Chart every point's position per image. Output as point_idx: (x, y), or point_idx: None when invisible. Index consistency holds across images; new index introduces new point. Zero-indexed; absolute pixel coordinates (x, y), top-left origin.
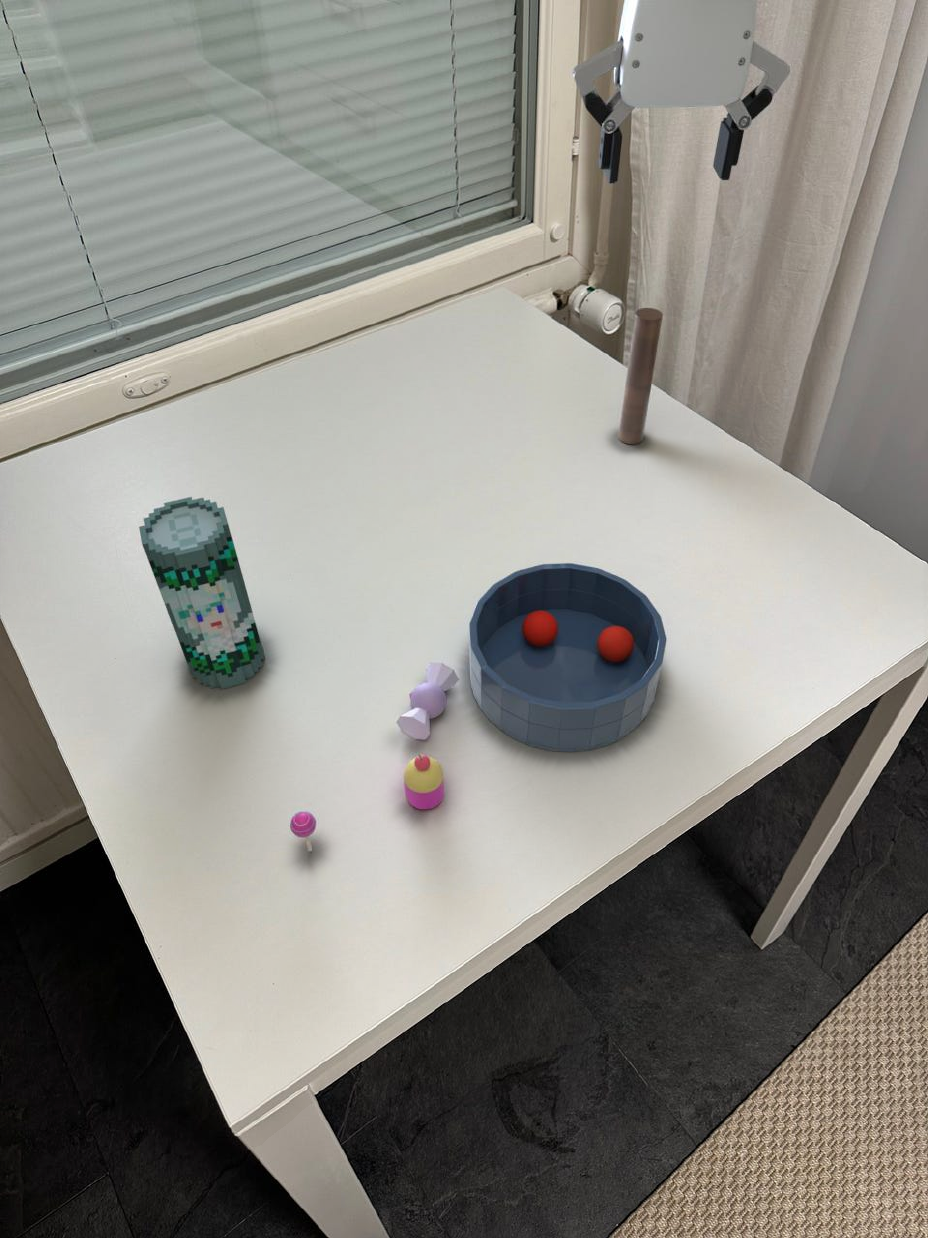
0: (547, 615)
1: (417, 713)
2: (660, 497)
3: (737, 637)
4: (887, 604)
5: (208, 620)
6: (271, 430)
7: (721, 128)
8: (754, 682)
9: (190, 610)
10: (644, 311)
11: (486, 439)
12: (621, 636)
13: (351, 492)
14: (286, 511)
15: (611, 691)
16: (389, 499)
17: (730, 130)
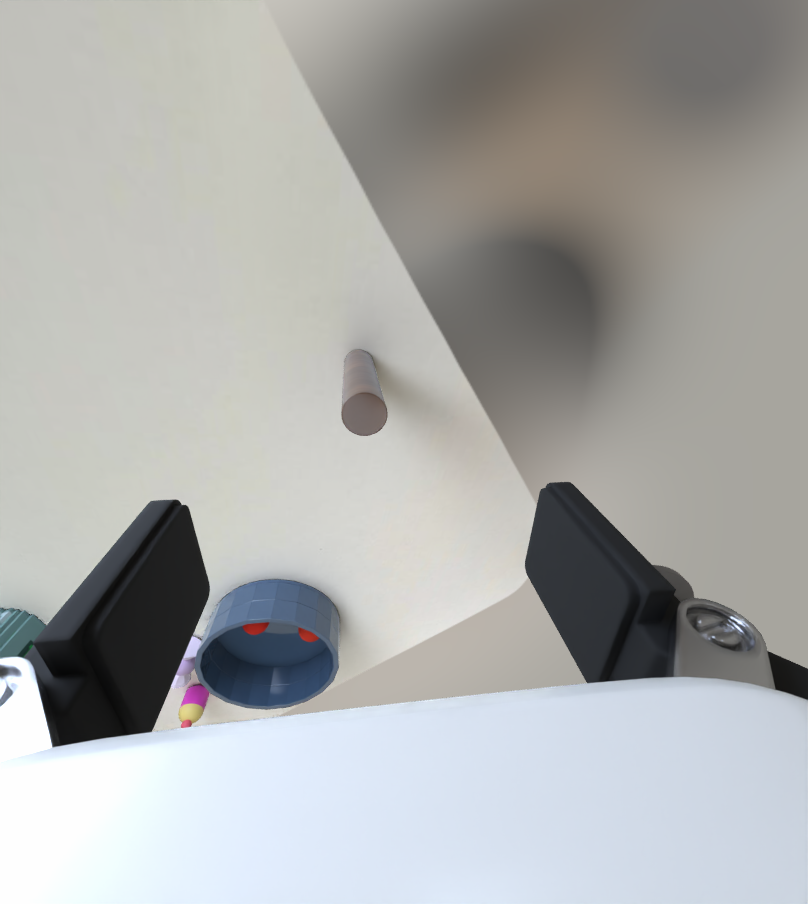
0: (258, 629)
1: (177, 681)
2: (375, 462)
3: (402, 595)
4: (514, 567)
5: None
6: None
7: (608, 589)
8: (402, 622)
9: None
10: (357, 407)
11: (174, 358)
12: (312, 640)
13: (28, 450)
14: None
15: None
16: (81, 462)
17: (605, 681)
